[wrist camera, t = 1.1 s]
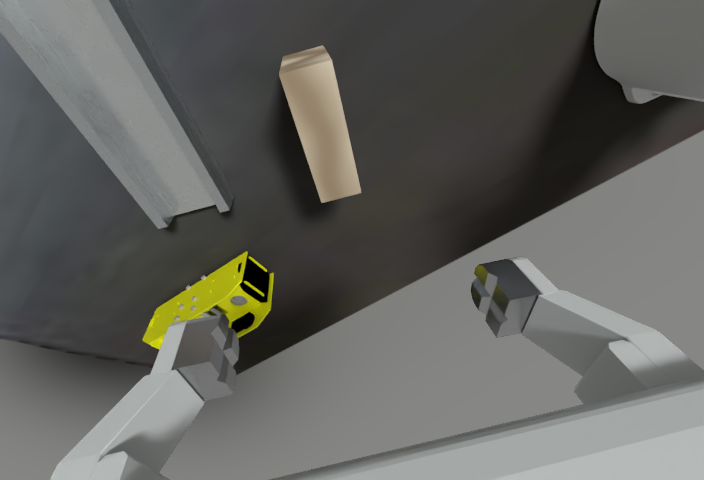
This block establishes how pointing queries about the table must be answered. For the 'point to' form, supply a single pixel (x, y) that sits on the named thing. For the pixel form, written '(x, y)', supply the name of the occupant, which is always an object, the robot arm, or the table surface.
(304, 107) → the tan rectangular block
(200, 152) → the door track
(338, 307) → the table surface
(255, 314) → the yellow toy chassis
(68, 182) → the table surface
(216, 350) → the robot arm
